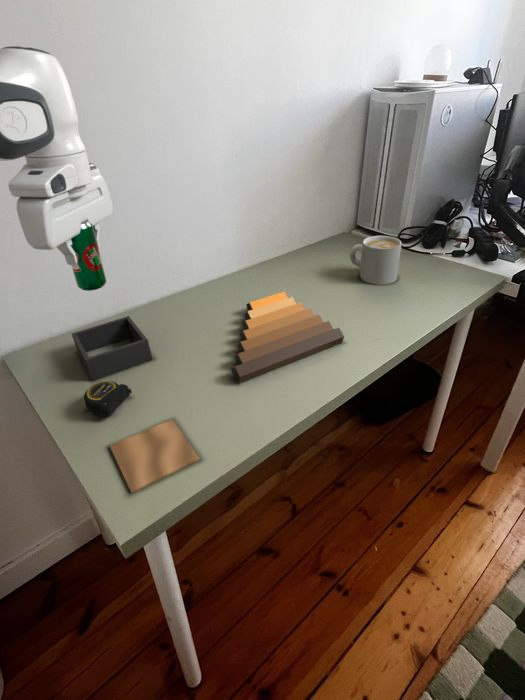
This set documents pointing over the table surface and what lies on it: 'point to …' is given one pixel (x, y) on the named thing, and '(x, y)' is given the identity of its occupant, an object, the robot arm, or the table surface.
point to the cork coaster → (153, 455)
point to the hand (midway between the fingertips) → (84, 256)
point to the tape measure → (105, 397)
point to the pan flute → (280, 336)
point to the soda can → (88, 259)
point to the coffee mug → (378, 259)
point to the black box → (116, 357)
